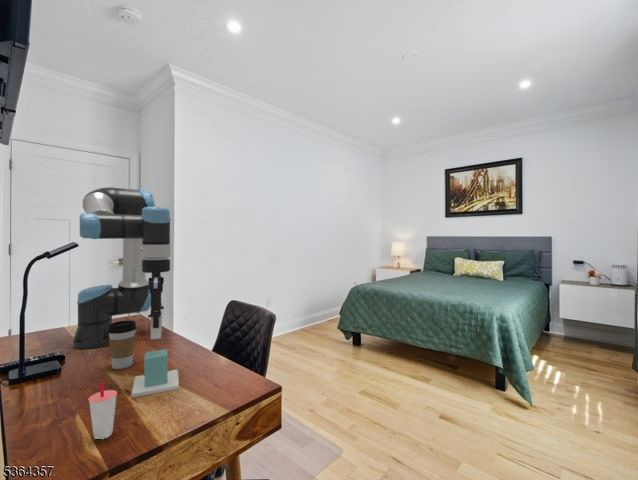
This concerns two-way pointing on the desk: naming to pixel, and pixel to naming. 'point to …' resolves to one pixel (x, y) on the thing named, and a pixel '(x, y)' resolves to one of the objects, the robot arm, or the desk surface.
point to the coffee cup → (122, 343)
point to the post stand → (141, 390)
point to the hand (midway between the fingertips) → (156, 334)
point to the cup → (102, 412)
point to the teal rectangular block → (155, 368)
